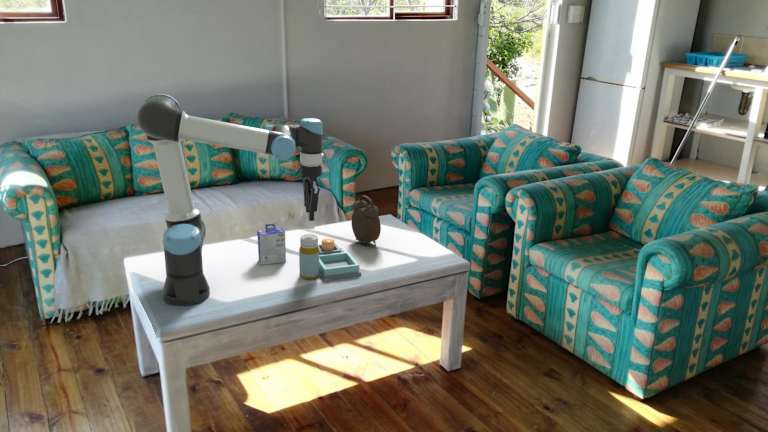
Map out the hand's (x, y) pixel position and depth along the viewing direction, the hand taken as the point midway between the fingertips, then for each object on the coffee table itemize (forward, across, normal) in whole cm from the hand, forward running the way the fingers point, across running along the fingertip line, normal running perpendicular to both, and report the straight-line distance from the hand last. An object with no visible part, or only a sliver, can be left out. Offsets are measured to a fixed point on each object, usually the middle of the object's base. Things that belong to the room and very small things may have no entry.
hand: (310, 228), depth 236 cm
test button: (+15, +11, -11) cm, 22 cm away
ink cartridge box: (+18, +15, +10) cm, 25 cm away
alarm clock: (+17, +21, -30) cm, 40 cm away
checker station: (+17, +4, -10) cm, 20 cm away
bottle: (+18, -2, +1) cm, 18 cm away
